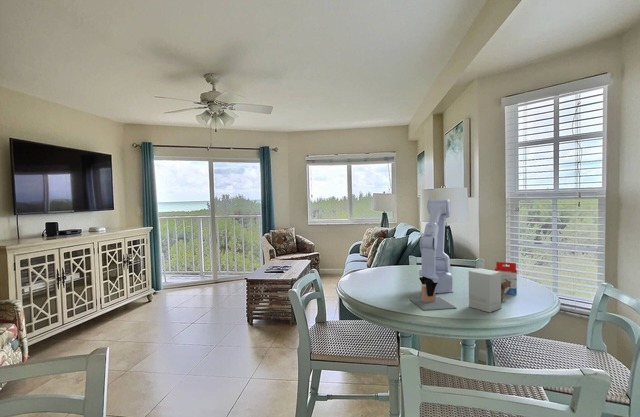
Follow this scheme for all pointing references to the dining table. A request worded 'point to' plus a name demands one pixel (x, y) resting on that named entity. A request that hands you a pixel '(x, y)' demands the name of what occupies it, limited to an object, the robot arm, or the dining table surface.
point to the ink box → (508, 276)
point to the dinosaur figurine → (504, 286)
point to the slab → (425, 297)
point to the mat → (432, 304)
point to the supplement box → (485, 289)
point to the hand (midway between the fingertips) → (428, 294)
